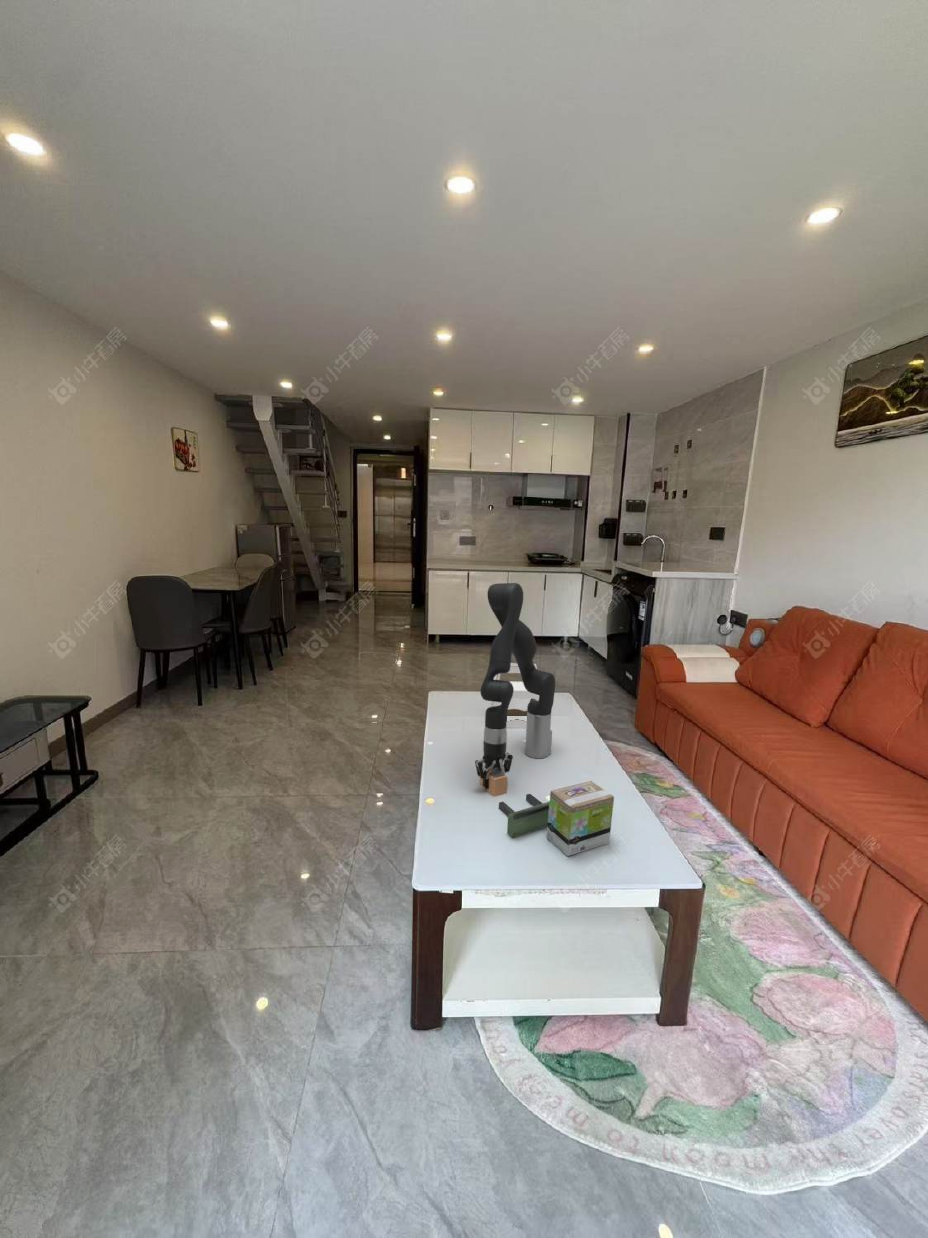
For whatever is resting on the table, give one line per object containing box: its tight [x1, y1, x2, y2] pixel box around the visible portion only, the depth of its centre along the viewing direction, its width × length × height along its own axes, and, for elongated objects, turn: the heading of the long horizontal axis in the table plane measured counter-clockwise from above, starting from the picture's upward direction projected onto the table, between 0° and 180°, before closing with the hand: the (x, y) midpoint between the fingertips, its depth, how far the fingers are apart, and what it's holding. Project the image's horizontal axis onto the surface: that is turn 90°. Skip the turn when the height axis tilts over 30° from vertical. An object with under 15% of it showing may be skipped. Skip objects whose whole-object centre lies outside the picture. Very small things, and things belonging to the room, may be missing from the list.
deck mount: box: [498, 793, 550, 839], centre depth 152 cm, size 22×15×7 cm
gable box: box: [490, 662, 543, 729], centre depth 224 cm, size 22×13×28 cm, turn 91°
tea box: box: [546, 780, 615, 857], centre depth 139 cm, size 15×10×15 cm, turn 117°
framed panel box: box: [479, 768, 509, 798], centre depth 167 cm, size 5×9×6 cm, turn 29°
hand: (493, 786), depth 168 cm, fingers closed on framed panel box, 5 cm apart
